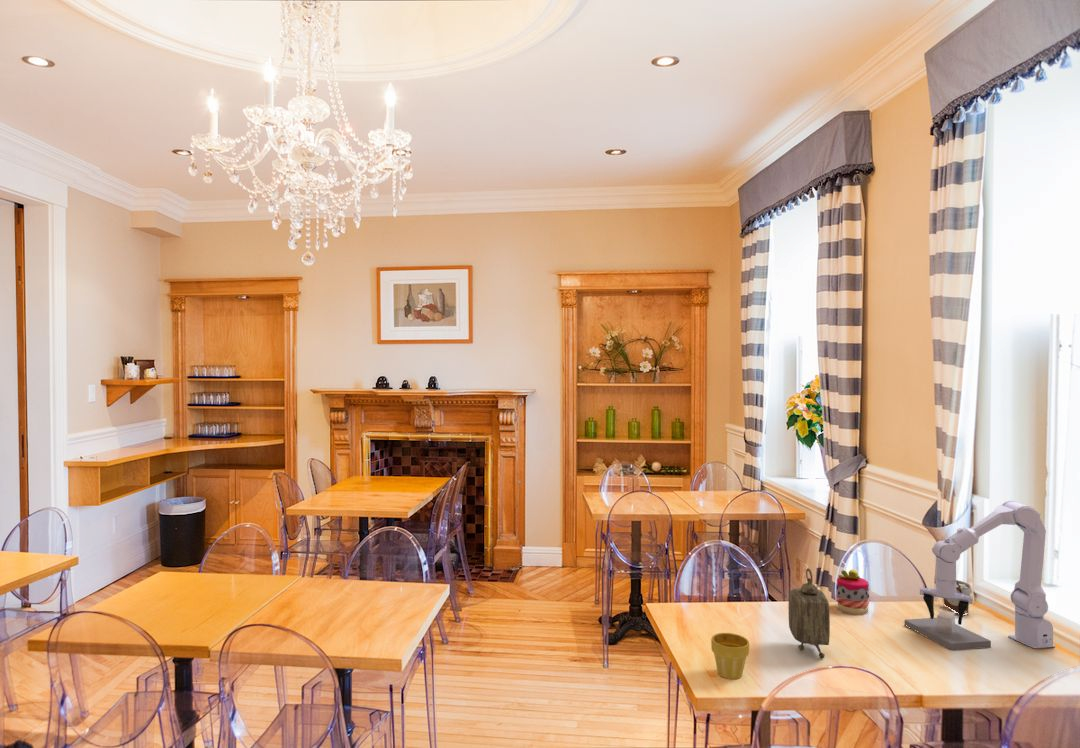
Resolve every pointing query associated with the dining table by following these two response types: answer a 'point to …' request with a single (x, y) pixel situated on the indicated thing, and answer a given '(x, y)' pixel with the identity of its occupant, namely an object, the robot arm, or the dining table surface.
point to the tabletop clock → (809, 615)
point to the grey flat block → (948, 635)
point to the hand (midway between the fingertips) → (945, 620)
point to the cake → (852, 593)
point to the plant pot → (730, 654)
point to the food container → (962, 589)
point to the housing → (946, 622)
